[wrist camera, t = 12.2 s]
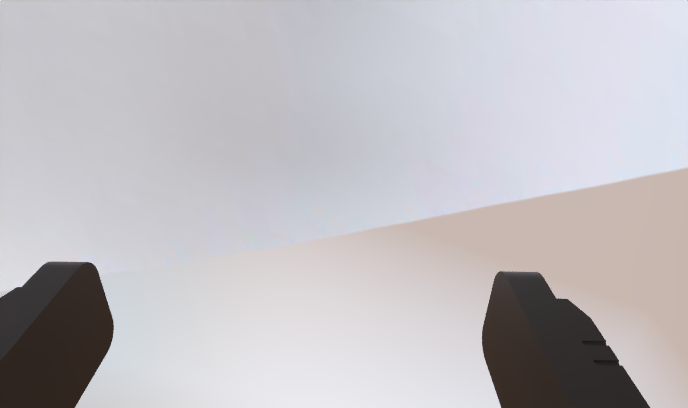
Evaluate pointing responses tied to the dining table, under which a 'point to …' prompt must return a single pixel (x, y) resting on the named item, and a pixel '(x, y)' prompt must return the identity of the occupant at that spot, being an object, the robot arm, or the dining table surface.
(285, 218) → the dining table surface
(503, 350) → the robot arm
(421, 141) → the dining table surface
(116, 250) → the dining table surface
